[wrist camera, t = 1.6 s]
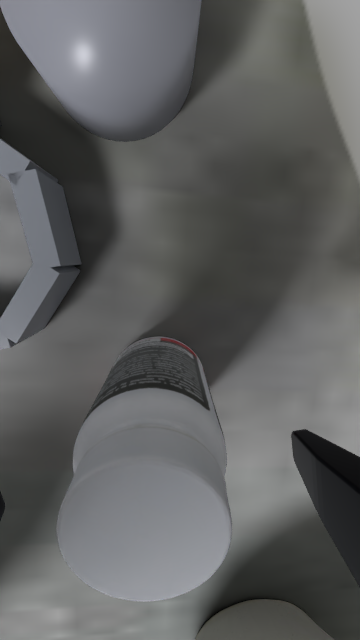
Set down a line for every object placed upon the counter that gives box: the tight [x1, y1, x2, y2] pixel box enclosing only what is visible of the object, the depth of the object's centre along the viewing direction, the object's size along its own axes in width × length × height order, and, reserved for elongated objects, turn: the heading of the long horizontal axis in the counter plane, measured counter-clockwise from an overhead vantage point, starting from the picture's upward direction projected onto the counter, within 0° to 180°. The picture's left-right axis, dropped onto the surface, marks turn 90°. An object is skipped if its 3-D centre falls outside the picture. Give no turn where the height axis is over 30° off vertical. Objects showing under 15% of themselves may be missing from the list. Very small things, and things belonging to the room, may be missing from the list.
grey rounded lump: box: [0, 0, 202, 142], centre depth 10 cm, size 6×6×4 cm
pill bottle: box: [57, 336, 232, 601], centre depth 10 cm, size 5×5×8 cm
